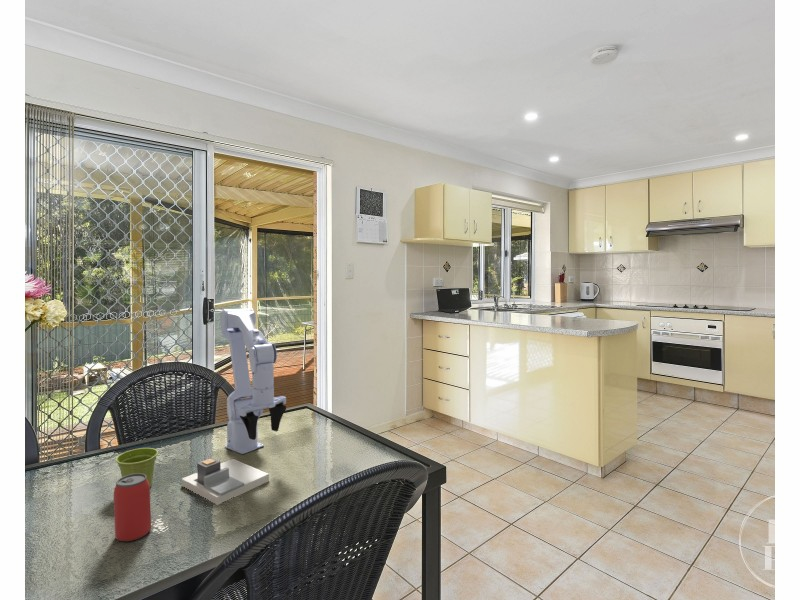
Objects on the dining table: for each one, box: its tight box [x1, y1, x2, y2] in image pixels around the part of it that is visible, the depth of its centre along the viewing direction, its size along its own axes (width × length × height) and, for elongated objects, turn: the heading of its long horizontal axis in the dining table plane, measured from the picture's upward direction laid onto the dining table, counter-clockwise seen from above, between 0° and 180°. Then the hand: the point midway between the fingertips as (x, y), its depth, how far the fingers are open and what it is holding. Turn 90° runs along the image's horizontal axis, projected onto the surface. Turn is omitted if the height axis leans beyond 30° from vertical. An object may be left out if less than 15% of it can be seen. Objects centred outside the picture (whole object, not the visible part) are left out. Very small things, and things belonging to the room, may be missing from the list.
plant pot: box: [115, 447, 159, 488], centre depth 114 cm, size 9×9×9 cm
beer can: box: [113, 473, 152, 543], centre depth 95 cm, size 7×7×12 cm
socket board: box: [181, 458, 270, 506], centre depth 117 cm, size 16×15×2 cm
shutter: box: [204, 467, 244, 496], centre depth 111 cm, size 7×6×3 cm
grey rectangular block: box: [196, 457, 221, 486], centre depth 115 cm, size 4×4×6 cm
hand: (263, 434), depth 125 cm, fingers open, 7 cm apart
